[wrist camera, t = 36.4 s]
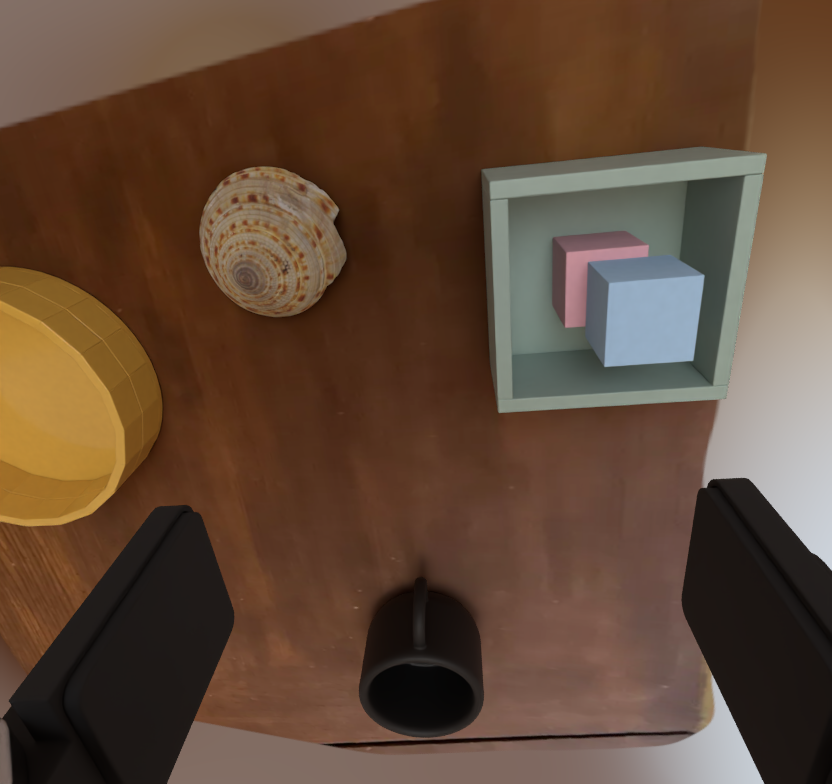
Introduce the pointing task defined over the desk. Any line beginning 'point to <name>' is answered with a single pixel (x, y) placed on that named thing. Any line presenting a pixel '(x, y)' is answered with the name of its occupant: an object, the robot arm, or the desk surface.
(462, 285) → the desk surface
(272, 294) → the seashell
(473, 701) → the mug
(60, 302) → the bowl
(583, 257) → the toy pink
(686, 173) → the bin
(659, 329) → the toy blue
